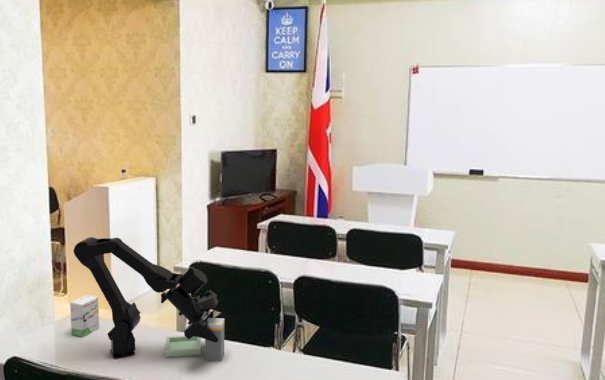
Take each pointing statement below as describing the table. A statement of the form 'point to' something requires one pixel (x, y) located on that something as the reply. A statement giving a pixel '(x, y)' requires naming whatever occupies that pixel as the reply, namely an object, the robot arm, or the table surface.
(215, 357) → the grey tall block
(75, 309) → the ink box
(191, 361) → the table surface
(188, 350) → the tray
